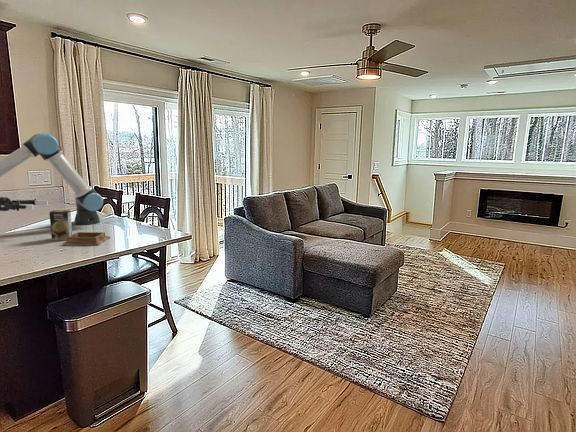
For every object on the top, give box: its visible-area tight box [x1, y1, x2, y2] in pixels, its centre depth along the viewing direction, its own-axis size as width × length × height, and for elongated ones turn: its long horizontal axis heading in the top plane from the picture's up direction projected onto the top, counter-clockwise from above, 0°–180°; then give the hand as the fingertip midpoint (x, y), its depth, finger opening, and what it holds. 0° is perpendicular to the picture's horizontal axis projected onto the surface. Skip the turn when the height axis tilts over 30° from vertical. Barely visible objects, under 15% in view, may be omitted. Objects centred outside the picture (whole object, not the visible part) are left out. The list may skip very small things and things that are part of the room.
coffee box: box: [49, 209, 73, 241], centre depth 207 cm, size 9×6×16 cm
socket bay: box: [62, 231, 111, 246], centre depth 204 cm, size 16×18×4 cm
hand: (40, 204), depth 204 cm, fingers open, 13 cm apart
